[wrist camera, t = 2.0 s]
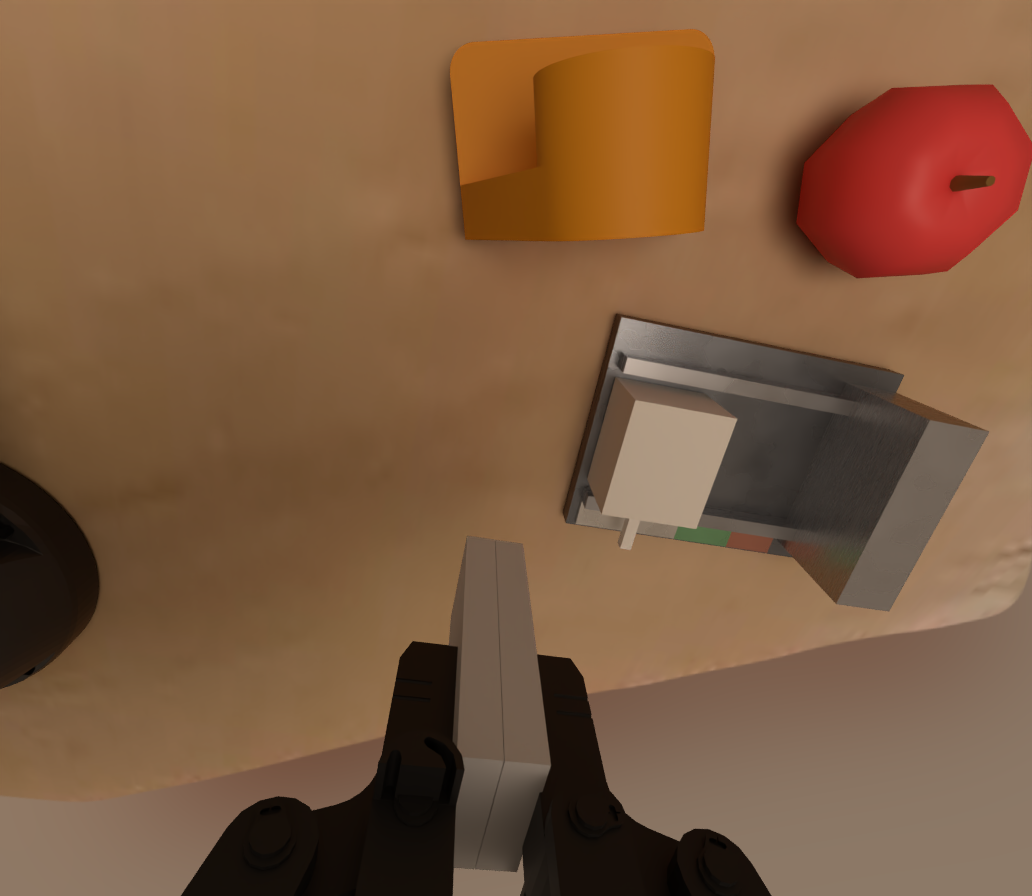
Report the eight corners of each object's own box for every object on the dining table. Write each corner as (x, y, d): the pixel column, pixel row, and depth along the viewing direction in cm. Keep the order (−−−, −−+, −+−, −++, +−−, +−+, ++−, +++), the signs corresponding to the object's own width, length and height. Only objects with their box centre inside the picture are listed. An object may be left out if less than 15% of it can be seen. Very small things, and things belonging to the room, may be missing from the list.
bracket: (692, 47, 25) (866, -95, 13) (683, 222, 27) (821, 224, 16) (450, 61, 24) (425, -72, 13) (466, 237, 27) (457, 250, 16)
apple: (919, 63, 25) (1100, -1, 18) (943, 232, 28) (1107, 237, 21) (754, 146, 26) (861, 118, 19) (794, 301, 29) (900, 329, 22)
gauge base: (562, 512, 33) (583, 586, 26) (616, 313, 29) (656, 341, 22) (804, 550, 35) (880, 626, 29) (888, 369, 31) (1000, 410, 24)
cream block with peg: (575, 522, 32) (587, 561, 28) (615, 376, 29) (635, 399, 25) (656, 534, 33) (679, 574, 29) (705, 393, 29) (737, 418, 26)
